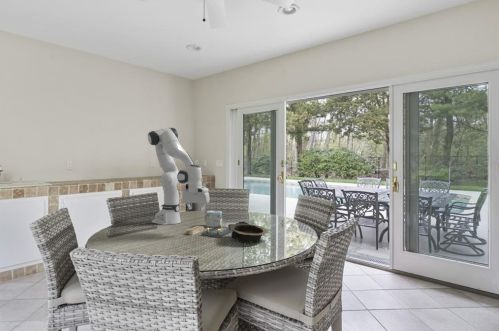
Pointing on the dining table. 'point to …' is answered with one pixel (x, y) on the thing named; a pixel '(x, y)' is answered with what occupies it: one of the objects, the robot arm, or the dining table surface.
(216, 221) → the light bulb box
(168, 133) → the robot arm
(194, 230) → the birch board
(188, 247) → the dining table surface
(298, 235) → the dining table surface
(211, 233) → the chassis
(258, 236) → the stone bowl
